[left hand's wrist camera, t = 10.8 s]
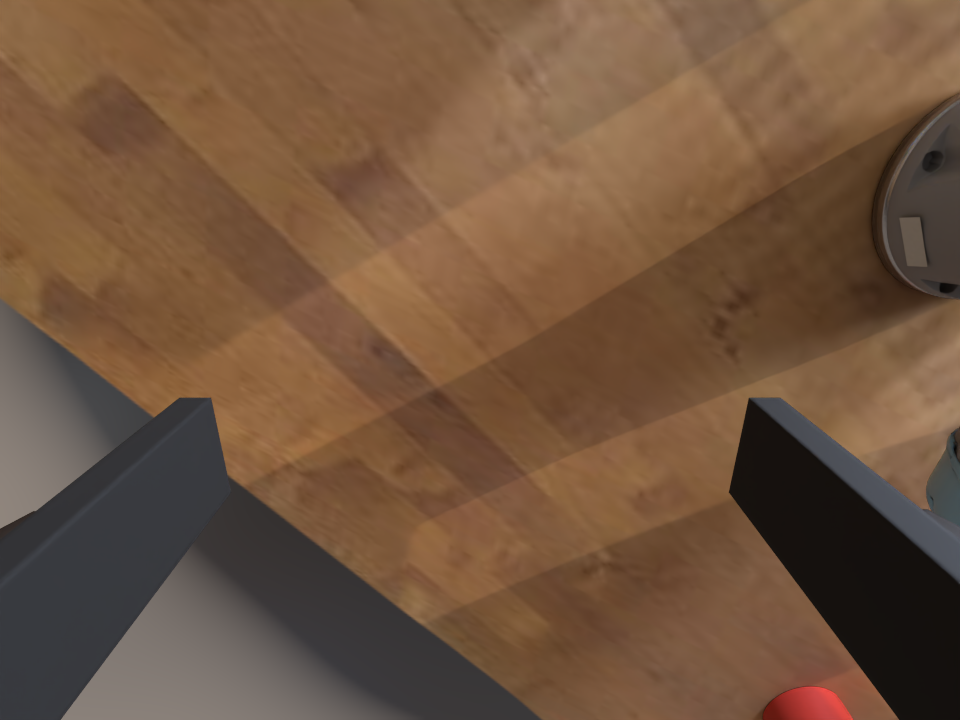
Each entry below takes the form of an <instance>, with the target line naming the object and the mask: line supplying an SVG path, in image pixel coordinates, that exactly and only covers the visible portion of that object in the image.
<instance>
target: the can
mask: <svg viewBox="0 0 960 720" xmlns="http://www.w3.org/2000/svg"><path fill="white" fill-rule="evenodd" d="M763 720H853V718H852V717H851V715H850V714H849V712H848V711H847V709H846V708H845V706H844V705H843V703H842V702H841V700H840V699H839V697H838V696H837V695H836V694H834V693H833V692H832V691H830V690H827V689H825V688H821V687H800V688H796V689H792V690H789V691H787V692H784V693H783V694H781V695H779V696H777V697H776V698H775V699H773V700H772V701H771V702H770V703H769V704H768V706H767V707H766V709H765V711H764V714H763Z"/></svg>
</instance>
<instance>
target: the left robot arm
mask: <svg viewBox="0 0 960 720" xmlns="http://www.w3.org/2000/svg"><path fill="white" fill-rule="evenodd" d="M872 231H873V239H874V243H875V247H876V250H877V252H878V255H879V257H880V259H881V261H882V263H883V264H884V266H885V267H886V268H887V270H888V271H889V272H890V273H891V274H892V275H893V276H894V277H895V278H896V279H897V280H899V281H900V282H902V283H903V284H905V285H906V286H908V287H910V288H913V289H915V290H918V291H921V292H924V293H927V294H931V295H934V296H938V297H943V298H949V299H959V300H960V93H958V94H956V95H955V96H953V97H952V98H950V99H948V100H947V101H945V102H944V103H942V104H941V105H939V106H938V107H937V108H935V109H934V110H933V111H932V112H930V113H929V114H928V115H927V116H926V117H925V118H924V119H922V120H921V121H920V122H919V123H918V124H917V125H916V126H915V127H914V129H913V130H912V131H911V132H910V133H909V134H908V135H907V136H906V138H905V139H904V140H903V142H902V143H901V144H900V146H899V147H898V149H897V150H896V152H895V153H894V155H893V156H892V158H891V160H890V161H889V163H888V165H887V167H886V169H885V171H884V173H883V176H882V178H881V181H880V183H879V186H878V189H877V193H876V196H875V201H874V206H873V215H872ZM230 493H231V490H230V485H229V480H228V476H227V471H226V466H225V462H224V457H223V452H222V447H221V443H220V438H219V433H218V429H217V424H216V419H215V414H214V410H213V405H212V400H211V398H179V399H177V400H176V401H175V402H174V403H172V404H171V405H170V406H169V407H167V408H166V409H165V410H164V411H162V412H161V413H160V414H158V415H157V416H156V417H155V418H153V419H152V420H151V421H150V422H148V423H147V424H146V425H145V426H143V427H142V428H141V429H139V430H138V431H137V432H136V433H134V434H133V435H132V436H131V437H129V438H128V439H127V440H126V441H124V442H123V443H122V444H120V445H119V446H118V447H117V448H115V449H114V450H113V451H112V452H110V453H109V454H108V455H107V456H105V457H104V458H103V459H101V460H100V461H99V462H98V463H96V464H95V465H94V466H93V467H91V468H90V469H89V470H88V471H86V472H85V473H84V474H83V475H81V476H80V477H79V478H77V479H76V480H75V481H74V482H72V483H71V484H70V485H69V486H67V487H66V488H65V489H64V490H62V491H61V492H60V493H58V494H57V495H56V496H55V497H53V498H52V499H51V500H50V501H48V502H47V503H46V504H45V505H43V506H42V507H41V508H39V509H38V510H37V511H33V512H31V513H29V514H27V515H25V516H24V517H22V518H20V519H18V520H16V521H14V522H12V523H10V524H8V525H6V526H5V527H3V528H1V529H0V720H61V718H62V717H63V716H64V714H65V713H66V712H67V710H68V709H69V708H70V706H71V705H72V704H73V702H74V701H75V700H76V698H77V697H78V696H79V694H80V693H81V692H82V690H83V689H84V688H85V686H86V685H87V684H88V682H89V681H90V680H91V678H92V677H93V676H94V674H95V673H96V672H97V670H98V669H99V668H100V666H101V665H102V664H103V662H104V661H105V660H106V658H107V657H108V656H109V654H110V653H111V652H112V650H113V649H114V648H115V646H116V645H117V644H118V642H119V641H120V640H121V638H122V637H123V636H124V634H125V633H126V632H127V630H128V629H129V628H130V626H131V625H132V624H133V622H134V621H135V620H136V618H137V617H138V616H139V614H140V613H141V612H142V610H143V609H144V608H145V606H146V605H147V604H148V602H149V601H150V600H151V598H152V597H153V596H154V594H155V593H156V592H157V590H158V589H159V588H160V586H161V585H162V584H163V582H164V581H165V580H166V578H167V577H168V576H169V574H170V573H171V572H172V570H173V569H174V568H175V566H176V565H177V564H178V562H179V561H180V560H181V558H182V557H183V556H184V554H185V553H186V552H187V550H188V549H189V548H190V546H191V545H192V544H193V542H194V541H195V540H196V538H197V537H198V536H199V534H200V533H201V532H202V530H203V529H204V528H205V526H206V525H207V524H208V522H209V521H210V520H211V518H212V517H213V516H214V514H215V513H216V512H217V510H218V509H219V508H220V506H221V505H222V504H223V502H224V501H225V500H226V498H227V497H228V496H229V494H230ZM729 493H730V494H731V496H732V497H733V498H734V500H735V501H736V502H737V504H738V505H739V506H740V508H741V509H742V510H743V512H744V513H745V514H746V516H747V517H748V518H749V520H750V521H751V522H752V524H753V525H754V526H755V528H756V529H757V530H758V532H759V533H760V534H761V536H762V537H763V538H764V540H765V541H766V542H767V544H768V545H769V546H770V548H771V549H772V550H773V552H774V553H775V554H776V556H777V557H778V558H779V560H780V561H781V562H782V564H783V565H784V566H785V568H786V569H787V570H788V572H789V573H790V574H791V576H792V577H793V578H794V580H795V581H796V582H797V584H798V585H799V586H800V588H801V589H802V590H803V592H804V593H805V594H806V596H807V597H808V598H809V600H810V601H811V602H812V604H813V605H814V606H815V608H816V609H817V610H818V612H819V613H820V614H821V616H822V617H823V618H824V620H825V621H826V622H827V624H828V625H829V626H830V628H831V629H832V630H833V632H834V633H835V634H836V636H837V637H838V638H839V640H840V641H841V642H842V644H843V645H844V646H845V648H846V649H847V650H848V652H849V653H850V654H851V656H852V657H853V658H854V660H855V661H856V662H857V664H858V665H859V666H860V668H861V669H862V670H863V672H864V673H865V674H866V676H867V677H868V678H869V680H870V681H871V682H872V684H873V685H874V686H875V688H876V689H877V690H878V692H879V693H880V694H881V696H882V697H883V698H884V700H885V701H886V702H887V704H888V705H889V706H890V708H891V709H892V710H893V712H894V713H895V714H896V716H897V717H898V718H899V720H960V427H959V428H957V429H956V430H955V431H954V432H953V433H951V435H950V436H949V437H948V440H947V446H946V450H945V452H944V454H943V456H942V457H941V459H940V461H939V462H938V464H937V466H936V467H935V469H934V471H933V472H932V474H931V476H930V478H929V480H928V483H927V486H926V497H927V500H928V503H929V506H930V509H931V510H932V512H931V511H929V510H922V509H921V508H919V507H918V506H917V505H915V504H914V503H913V502H912V501H910V500H909V499H908V498H907V497H905V496H904V495H903V494H902V493H900V492H899V491H898V490H896V489H895V488H894V487H893V486H891V485H890V484H889V483H888V482H886V481H885V480H884V479H883V478H881V477H880V476H879V475H878V474H876V473H875V472H874V471H872V470H871V469H870V468H869V467H867V466H866V465H865V464H864V463H862V462H861V461H860V460H859V459H857V458H856V457H855V456H853V455H852V454H851V453H850V452H848V451H847V450H846V449H845V448H843V447H842V446H841V445H840V444H838V443H837V442H836V441H834V440H833V439H832V438H831V437H829V436H828V435H827V434H826V433H824V432H823V431H822V430H821V429H819V428H818V427H817V426H815V425H814V424H813V423H812V422H810V421H809V420H808V419H807V418H805V417H804V416H803V415H802V414H800V413H799V412H798V411H796V410H795V409H794V408H793V407H791V406H790V405H789V404H788V403H786V402H785V401H784V400H783V399H781V398H749V400H748V405H747V410H746V414H745V419H744V424H743V429H742V433H741V438H740V443H739V447H738V452H737V457H736V462H735V466H734V471H733V476H732V480H731V485H730V490H729Z"/></svg>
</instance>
